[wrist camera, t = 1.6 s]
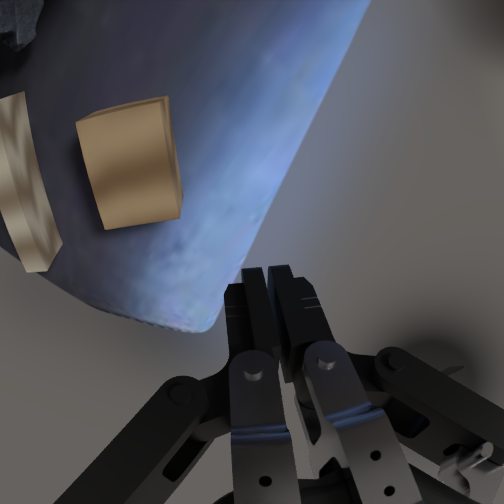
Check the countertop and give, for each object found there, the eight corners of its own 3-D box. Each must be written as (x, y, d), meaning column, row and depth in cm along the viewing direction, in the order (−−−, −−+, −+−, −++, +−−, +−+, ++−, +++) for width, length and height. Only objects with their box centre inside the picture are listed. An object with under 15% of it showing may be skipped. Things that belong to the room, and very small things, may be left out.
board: (3, 99, 19) (-26, 111, 15) (24, 91, 19) (-5, 100, 15) (43, 246, 30) (26, 272, 26) (62, 243, 30) (47, 271, 26)
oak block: (96, 111, 23) (75, 122, 19) (168, 95, 23) (159, 102, 19) (118, 204, 29) (105, 229, 25) (183, 194, 29) (179, 218, 25)
